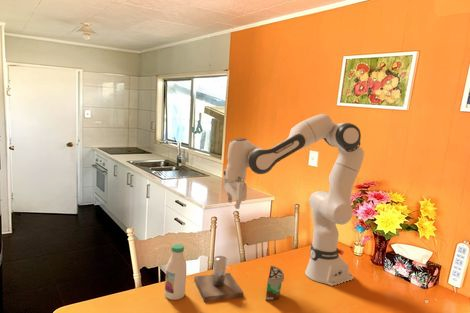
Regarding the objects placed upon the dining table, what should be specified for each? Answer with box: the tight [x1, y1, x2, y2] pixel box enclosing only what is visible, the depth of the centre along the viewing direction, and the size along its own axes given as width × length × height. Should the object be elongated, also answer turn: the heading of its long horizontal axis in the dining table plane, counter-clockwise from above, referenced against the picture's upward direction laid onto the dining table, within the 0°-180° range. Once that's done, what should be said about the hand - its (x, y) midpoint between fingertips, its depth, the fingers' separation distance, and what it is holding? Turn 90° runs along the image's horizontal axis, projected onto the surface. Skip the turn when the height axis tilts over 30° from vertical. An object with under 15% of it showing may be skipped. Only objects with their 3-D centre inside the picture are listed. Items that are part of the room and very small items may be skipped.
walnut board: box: [193, 272, 244, 303], centre depth 137 cm, size 16×16×2 cm
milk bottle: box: [164, 243, 187, 301], centre depth 128 cm, size 8×8×20 cm
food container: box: [265, 265, 285, 302], centre depth 135 cm, size 12×6×10 cm, turn 168°
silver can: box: [212, 255, 228, 287], centre depth 136 cm, size 5×5×11 cm
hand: (233, 205), depth 149 cm, fingers open, 8 cm apart
